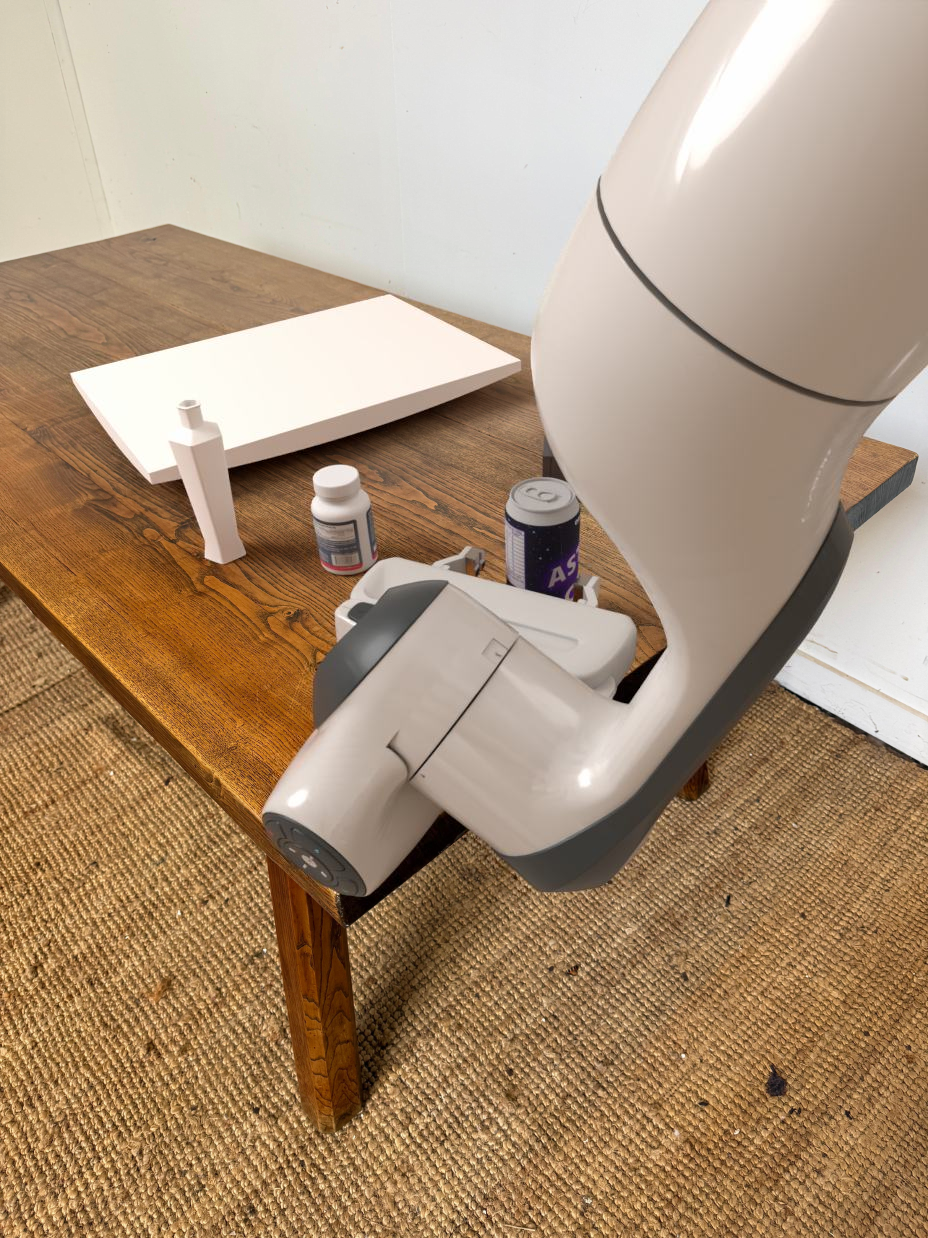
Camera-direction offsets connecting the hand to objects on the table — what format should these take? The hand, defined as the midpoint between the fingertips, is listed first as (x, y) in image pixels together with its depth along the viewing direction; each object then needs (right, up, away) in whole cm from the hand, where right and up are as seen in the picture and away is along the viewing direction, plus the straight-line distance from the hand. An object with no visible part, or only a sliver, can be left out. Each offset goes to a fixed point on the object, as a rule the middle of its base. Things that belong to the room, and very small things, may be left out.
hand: (532, 568), depth 67 cm
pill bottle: (-16, +1, +14) cm, 21 cm away
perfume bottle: (-28, +2, +16) cm, 32 cm away
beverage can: (+1, -4, +5) cm, 7 cm away
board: (-26, +23, +42) cm, 54 cm away
